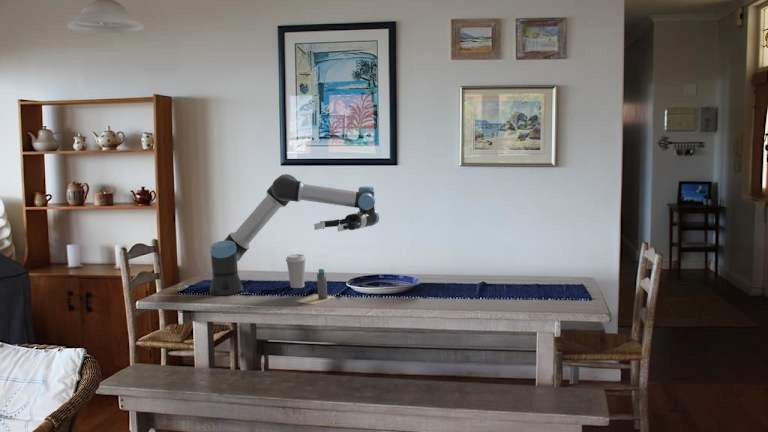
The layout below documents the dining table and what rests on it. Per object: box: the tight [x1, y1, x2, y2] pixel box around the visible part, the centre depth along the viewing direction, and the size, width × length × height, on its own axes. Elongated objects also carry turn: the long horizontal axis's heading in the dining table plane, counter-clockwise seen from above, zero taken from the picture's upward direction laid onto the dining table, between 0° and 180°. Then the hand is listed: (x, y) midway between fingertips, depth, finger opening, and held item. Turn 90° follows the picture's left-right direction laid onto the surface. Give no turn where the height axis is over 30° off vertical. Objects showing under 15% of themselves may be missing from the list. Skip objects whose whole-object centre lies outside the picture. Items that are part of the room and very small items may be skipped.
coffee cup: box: [285, 253, 307, 289], centre depth 322 cm, size 10×10×15 cm
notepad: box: [293, 293, 336, 306], centre depth 297 cm, size 12×14×1 cm
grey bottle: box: [316, 268, 328, 300], centre depth 296 cm, size 4×4×13 cm
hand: (326, 227), depth 305 cm, fingers open, 13 cm apart
